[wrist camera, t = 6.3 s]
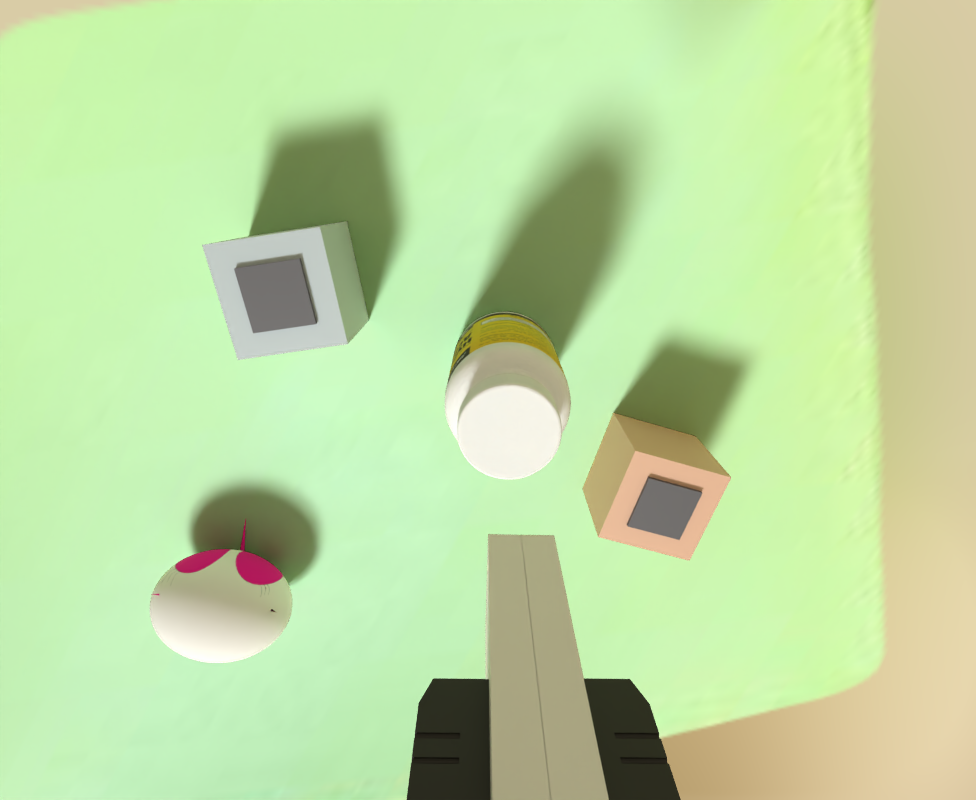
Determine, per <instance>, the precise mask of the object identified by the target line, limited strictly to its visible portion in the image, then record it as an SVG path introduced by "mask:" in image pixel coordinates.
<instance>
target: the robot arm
mask: <svg viewBox="0 0 976 800" xmlns="http://www.w3.org/2000/svg"><path fill="white" fill-rule="evenodd" d="M485 664H486V679H433V680H432V682H431V684H430V685H429V687H428V689H427V690H426V692H425V694H424V695H423V697H422V699H421V700H420V702H419V706H418V714H417V722H416V730H415V738H414V746H413V754H412V763H411V770H410V778H409V786H408V794H407V800H680V797H679V793H678V791H677V787H676V784H675V781H674V778H673V775H672V772H671V769H670V766H669V764H668V763H667V757H666V753H665V750H664V747H663V744H662V741H661V739H659V732H658V729H657V726H656V723H655V720H654V717H653V713H652V710H651V707H650V704H649V703H648V702H647V700H646V699H645V698H644V696H643V695H642V694H641V693H640V691H639V690H638V689H637V688H636V686H635V685H634V684H633V682H632V681H631V680H630V679H584V678H583V673H582V668H581V663H580V658H579V653H578V649H577V644H576V639H575V634H574V629H573V625H572V620H571V615H570V610H569V605H568V600H567V596H566V591H565V586H564V581H563V576H562V571H561V567H560V562H559V557H558V552H557V547H556V542H555V538H554V535H497V534H488V557H487V590H486V623H485Z"/></svg>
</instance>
